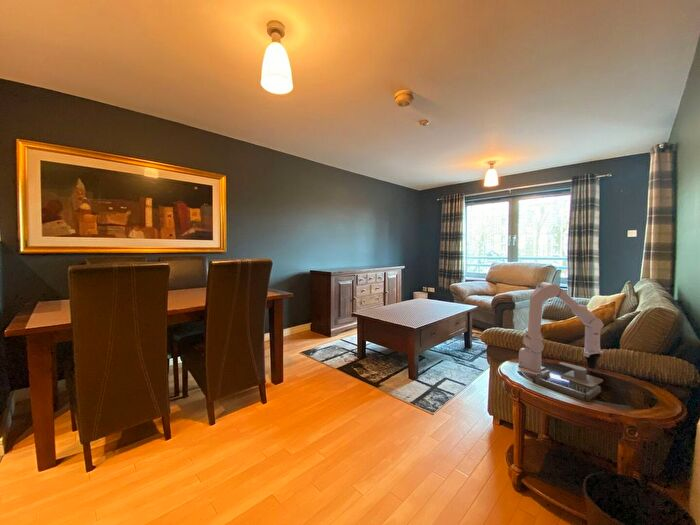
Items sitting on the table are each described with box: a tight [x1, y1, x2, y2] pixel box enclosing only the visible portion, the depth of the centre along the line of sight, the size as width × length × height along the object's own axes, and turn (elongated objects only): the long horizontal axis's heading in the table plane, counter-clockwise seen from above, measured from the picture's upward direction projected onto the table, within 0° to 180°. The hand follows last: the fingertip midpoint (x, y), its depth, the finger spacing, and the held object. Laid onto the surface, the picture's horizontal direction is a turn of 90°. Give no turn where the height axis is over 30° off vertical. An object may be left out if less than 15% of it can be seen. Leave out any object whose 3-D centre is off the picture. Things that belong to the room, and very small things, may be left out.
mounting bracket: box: [532, 369, 602, 403], centre depth 127 cm, size 20×13×2 cm, turn 32°
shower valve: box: [558, 361, 604, 389], centre depth 135 cm, size 12×6×15 cm
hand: (591, 368), depth 142 cm, fingers closed
